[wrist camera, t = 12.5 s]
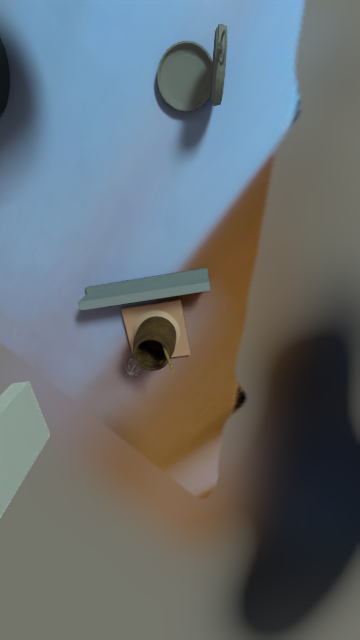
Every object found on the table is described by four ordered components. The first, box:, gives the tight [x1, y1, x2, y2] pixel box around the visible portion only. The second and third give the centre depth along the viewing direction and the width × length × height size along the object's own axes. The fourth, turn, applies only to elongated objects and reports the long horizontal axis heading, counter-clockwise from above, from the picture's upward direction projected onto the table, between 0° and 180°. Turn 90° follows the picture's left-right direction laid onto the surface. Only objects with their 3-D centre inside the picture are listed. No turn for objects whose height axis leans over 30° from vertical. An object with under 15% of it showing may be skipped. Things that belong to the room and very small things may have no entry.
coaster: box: [121, 299, 191, 362], centre depth 49 cm, size 9×9×1 cm
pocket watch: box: [157, 24, 227, 112], centre depth 33 cm, size 8×8×10 cm
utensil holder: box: [125, 316, 176, 377], centre depth 43 cm, size 6×6×12 cm
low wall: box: [78, 268, 210, 311], centre depth 45 cm, size 3×18×4 cm, turn 100°
